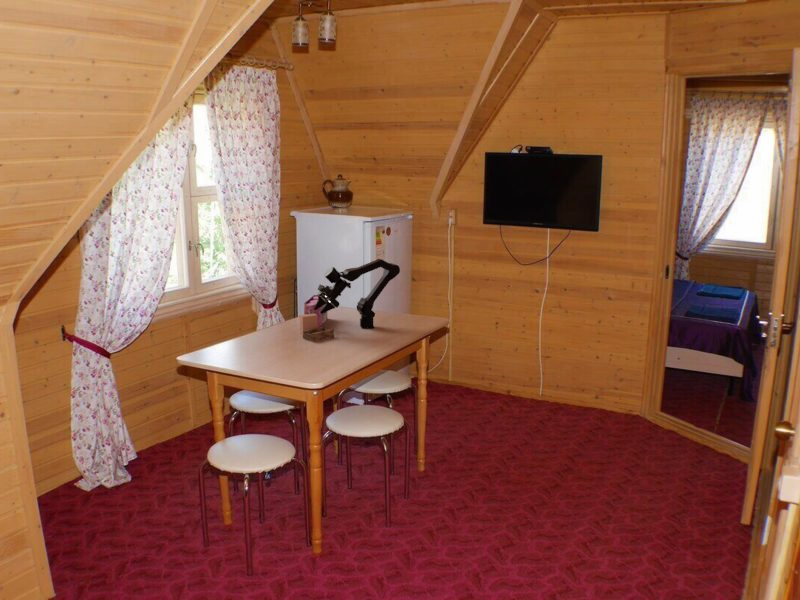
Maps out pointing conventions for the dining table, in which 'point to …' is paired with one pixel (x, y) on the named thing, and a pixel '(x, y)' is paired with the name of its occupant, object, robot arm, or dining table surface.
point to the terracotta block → (308, 322)
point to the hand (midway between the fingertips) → (317, 311)
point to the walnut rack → (318, 334)
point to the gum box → (310, 307)
